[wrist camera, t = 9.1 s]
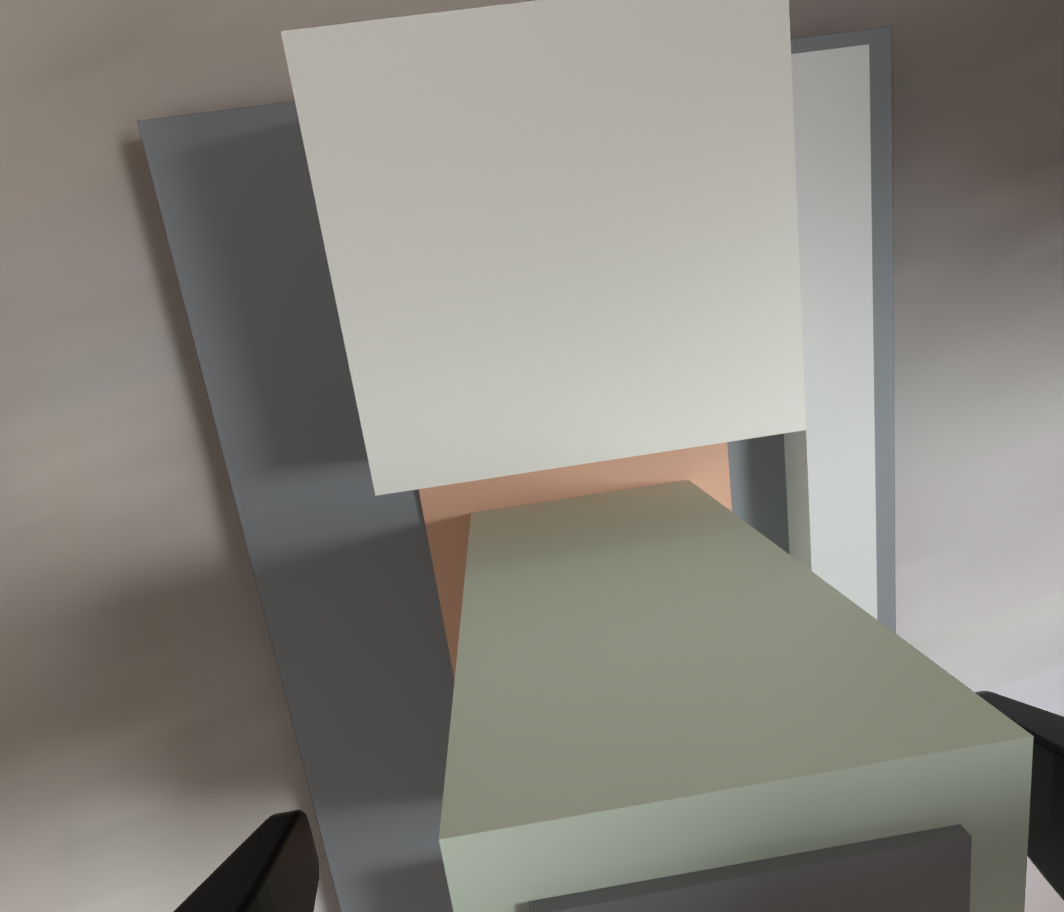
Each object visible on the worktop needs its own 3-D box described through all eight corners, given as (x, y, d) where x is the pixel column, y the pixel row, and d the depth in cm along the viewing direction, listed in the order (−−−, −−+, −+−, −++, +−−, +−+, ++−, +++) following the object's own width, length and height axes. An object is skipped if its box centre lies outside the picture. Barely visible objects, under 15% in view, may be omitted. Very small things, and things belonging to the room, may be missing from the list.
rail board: (868, 43, 10) (1028, -79, 7) (881, 960, 14) (985, 1126, 11) (158, 133, 10) (7, 43, 7) (390, 1053, 14) (362, 1254, 11)
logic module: (688, 479, 11) (1045, 746, 4) (711, 761, 12) (1011, 1340, 5) (471, 512, 11) (437, 852, 4) (517, 795, 12) (558, 1441, 5)
